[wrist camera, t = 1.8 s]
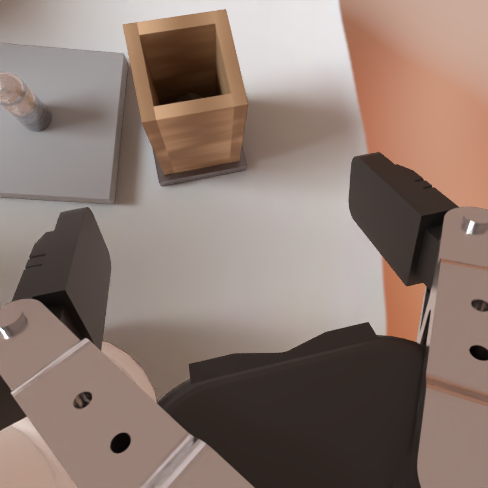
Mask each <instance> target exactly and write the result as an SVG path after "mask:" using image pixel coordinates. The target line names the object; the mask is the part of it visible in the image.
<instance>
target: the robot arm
mask: <svg viewBox="0 0 488 488" xmlns="http://www.w3.org/2000/svg"><path fill="white" fill-rule="evenodd" d="M349 209H350V213H351V216H352V218H353V219H354V221H355V222H356V223H357V225H358V226H359V227H360V228H361V230H362V231H363V232H364V233H365V235H366V236H367V237H368V238H369V240H370V241H371V242H372V244H373V245H374V246H375V247H376V249H377V250H378V251H379V252H380V254H381V255H382V256H383V257H384V259H385V260H386V261H387V262H388V264H389V265H390V266H391V268H392V269H393V270H394V271H395V272H396V274H397V275H398V276H399V278H400V279H401V280H402V281H403V283H404V284H405V285H406V286H411V285H415V284H419V283H424V284H425V285H426V290H425V294H424V299H423V306H422V311H421V317H420V323H419V329H418V335H417V342H414V341H410V340H407V339H403V338H398V337H393V336H383V335H376V334H375V332H374V330H373V329H372V327H371V326H370V324H369V322H367V323H362V324H358V325H354V326H349V327H345V328H341V329H337V330H332V331H328V332H325V333H323V334H321V335H319V336H317V337H315V338H313V339H311V340H309V341H307V342H305V343H303V344H301V345H299V346H297V347H295V348H293V349H291V350H289V351H287V352H283V353H237V354H230V355H226V356H222V357H218V358H213V359H209V360H205V361H201V362H196V363H192V364H189V370H190V379H189V380H187V381H185V382H183V383H182V384H180V385H178V386H177V387H175V388H174V389H172V390H171V391H170V392H169V393H167V394H166V395H165V396H164V397H162V398H161V399H160V400H159V401H158V402H157V403H156V402H155V401H154V400H153V399H152V398H151V397H150V396H148V395H147V394H146V393H145V392H144V391H143V390H142V389H141V388H140V387H139V386H138V385H137V384H136V383H135V382H134V381H132V380H131V379H130V378H129V377H128V376H127V375H126V374H125V373H124V372H123V371H122V370H121V369H120V368H119V367H118V366H117V365H115V364H114V363H113V362H112V361H111V360H110V359H109V358H108V357H107V356H106V355H105V354H104V353H103V352H102V351H101V349H102V340H103V332H104V324H105V315H106V307H107V299H108V290H109V282H110V274H111V261H110V256H109V252H108V249H107V247H106V244H105V242H104V239H103V237H102V234H101V232H100V230H99V227H98V225H97V222H96V220H95V218H94V215H93V213H92V211H91V210H90V208H88V207H86V208H81V209H76V210H70V211H65V212H61V213H60V215H59V218H58V221H57V224H56V227H55V230H54V231H51V232H46V233H45V234H44V235H43V236H42V237H41V238H40V239H39V240H38V241H37V243H36V244H35V245H34V247H33V249H32V252H31V254H30V259H29V260H28V262H27V264H26V267H25V268H26V270H24V272H23V274H22V277H21V279H20V282H19V284H18V287H17V289H16V292H15V294H14V297H13V299H12V302H10V303H8V304H6V305H4V306H2V307H0V431H1V430H3V429H4V428H6V427H8V426H10V425H12V424H14V423H16V422H18V421H20V420H22V419H24V418H25V417H28V418H29V420H30V421H31V423H32V424H33V426H34V427H35V428H36V430H37V431H38V433H39V434H40V435H41V437H42V438H43V440H44V441H45V442H46V444H47V445H48V447H49V448H50V450H51V451H52V452H53V454H54V455H55V457H56V458H57V459H58V461H59V462H60V464H61V465H62V466H63V468H64V469H65V471H66V472H67V474H68V475H69V476H70V478H71V479H72V481H73V482H74V483H75V485H76V486H77V488H488V210H486V209H482V208H477V207H458V206H457V205H456V204H454V203H453V202H452V201H451V200H449V199H448V198H447V197H446V196H444V195H443V194H442V193H441V192H439V191H438V190H437V189H436V188H434V187H433V188H432V185H431V184H429V183H428V182H427V181H424V180H423V178H422V177H421V176H419V175H418V174H417V173H415V172H414V171H413V170H410V169H408V168H405V167H403V166H400V165H398V164H397V165H395V164H393V163H392V162H391V161H390V160H389V159H387V158H386V157H385V156H384V155H382V154H381V153H380V152H377V153H371V154H366V155H361V156H356V157H354V158H353V160H352V163H351V175H350V189H349Z"/></svg>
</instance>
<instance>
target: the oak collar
mask: <svg viewBox="0 0 488 488" xmlns="http://www.w3.org/2000/svg"><path fill="white" fill-rule="evenodd" d="M123 29H124V34H125V39H126V44H127V49H128V55H129V60H130V65H131V70H132V75H133V80H134V86H135V91H136V96H137V101H138V106H139V111H140V116H141V122H142V124H143V127H144V129H145V131H146V134H147V136H148V138H149V141H150V143H151V145H152V148H153V150H154V152H155V154H156V157H157V159H158V161H159V164H160V166H161V168H162V171H163V173H164V175H167V174H173V173H178V172H183V171H189V170H194V169H199V168H205V167H210V166H215V165H221V164H226V163H231V162H237V161H239V160H240V154H241V147H242V141H243V134H244V128H245V121H246V115H247V108H248V102H247V97H246V93H245V89H244V84H243V80H242V76H241V72H240V67H239V63H238V59H237V54H236V50H235V46H234V42H233V37H232V33H231V29H230V24H229V20H228V16H227V11H226V9H224V10H217V11H211V12H204V13H197V14H190V15H183V16H177V17H170V18H163V19H156V20H150V21H143V22H136V23H129V24H123ZM187 93H195V94H198V95H200V96H201V97H202V98H201V99H195V100H190V101H184V102H178V103H176V102H177V100H178V99H179V98H180V97H181V96H182V95H184V94H187Z"/></svg>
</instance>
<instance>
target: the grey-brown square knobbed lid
mask: <svg viewBox="0 0 488 488" xmlns="http://www.w3.org/2000/svg"><path fill="white" fill-rule="evenodd" d="M201 98H202V97H201V96H200V95H198V94H195V93H187V94H184V95H182V96H181V97H180V98H179V99H178V100H177V102H176V103H178V102H184V101H190V100H195V99H201ZM153 153H154V158H155V163H156V168H157V174H158V179H159V183H160V185H161V186H164V185H169V184H175V183H180V182H185V181H190V180H196V179H201V178H206V177H211V176H217V175H222V174H227V173H233V172H238V171H243V170H246V167H247V164H246V160H245V156H244V151H243V147H241V154H240V160H239V161H237V162H231V163H226V164H221V165H215V166H210V167H205V168H199V169H194V170H189V171H183V172H178V173H173V174H167V175H164V173H163V171H162V168H161V166H160V164H159V161H158V159H157V157H156V154H155V152H154V150H153Z"/></svg>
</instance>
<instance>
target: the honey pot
mask: <svg viewBox="0 0 488 488" xmlns="http://www.w3.org/2000/svg"><path fill="white" fill-rule="evenodd" d="M101 351H102V352H103V353H104V354H105V355H106V356H107V357H108V358H109V359H110V360H111V361H112V362H113V363H114V364H115V365H117V366H118V367H119V368H120V369H121V370H122V371H123V372H124V373H125V374H126V375H127V376H128V377H129V378H130V379H131V380H132V381H134V382H135V383H136V384H137V385H138V386H139V387H140V388H141V389H142V390H143V391H144V392H145V393H146V394H147V395H148V396H150V397H151V398H152V399H153V400H154V401H155V402H156V403H157V401H156V397H155V393H154V389H153V387H152V386H151V384H150V382H149V380H148V378H147V376H146V374H145V373H144V371H143V369H142V368H141V367H140V366H139V365H138V364H137V363H136V362H135V361H134V360H133V359H132V358H131V357H130V356H129V355H128V354H127V353H125V352H123V351H122V350H120V349H118V348H117V347H115V346H113V345H112V344H110V343H108V342H104V341H102V349H101ZM0 488H77V486H76V485H75V483H74V482H73V481H72V479H71V478H70V476H69V475H68V474H67V472H66V471H65V469H64V468H63V466H62V465H61V464H60V462H59V461H58V459H57V458H56V457H55V455H54V454H53V452H52V451H51V450H50V448H49V447H48V445H47V444H46V442H45V441H44V440H43V438H42V437H41V435H40V434H39V433H38V431H37V430H36V428H35V427H34V426H33V424H32V423H31V421H30V420H29V418H28V417H25V418H24V419H22V420H20V421H18V422H16V423H14V424H12V425H10V426H8V427H6V428H4V429H3V430H1V431H0Z"/></svg>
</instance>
